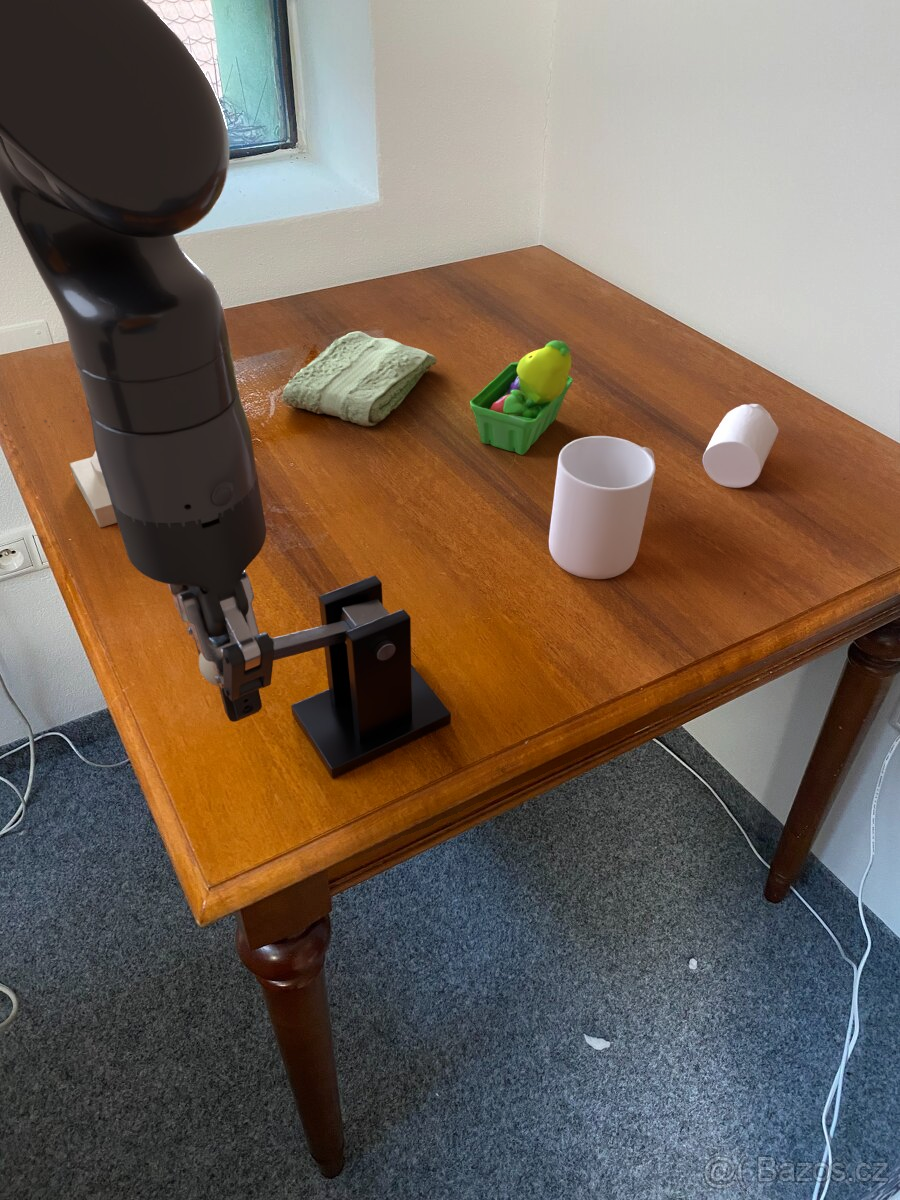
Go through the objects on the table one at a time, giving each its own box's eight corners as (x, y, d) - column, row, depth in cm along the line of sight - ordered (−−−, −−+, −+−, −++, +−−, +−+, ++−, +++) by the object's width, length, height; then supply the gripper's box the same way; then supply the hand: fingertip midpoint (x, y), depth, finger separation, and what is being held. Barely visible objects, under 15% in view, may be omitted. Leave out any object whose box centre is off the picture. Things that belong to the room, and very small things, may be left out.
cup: (529, 551, 82) (538, 460, 75) (607, 499, 88) (622, 410, 81) (599, 594, 78) (616, 501, 71) (676, 536, 84) (698, 446, 77)
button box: (100, 528, 83) (89, 493, 81) (75, 481, 89) (64, 447, 86) (201, 496, 87) (194, 463, 85) (171, 453, 93) (163, 420, 90)
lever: (209, 703, 54) (209, 665, 52) (191, 670, 56) (190, 632, 54) (391, 652, 61) (397, 616, 59) (369, 624, 63) (374, 589, 61)
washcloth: (441, 366, 108) (441, 342, 106) (375, 435, 96) (374, 410, 94) (348, 345, 112) (346, 321, 110) (273, 409, 100) (270, 384, 98)
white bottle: (778, 439, 97) (792, 394, 94) (753, 495, 89) (768, 448, 86) (724, 425, 99) (736, 380, 95) (696, 478, 91) (708, 432, 88)
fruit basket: (510, 399, 103) (517, 306, 95) (580, 419, 100) (593, 325, 92) (465, 445, 95) (468, 349, 88) (539, 468, 92) (550, 370, 85)
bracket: (332, 779, 63) (319, 667, 55) (291, 715, 67) (273, 601, 59) (451, 723, 67) (454, 611, 59) (405, 665, 71) (402, 553, 63)
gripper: (72, 430, 48) (142, 648, 60) (155, 575, 39) (218, 797, 51) (203, 395, 51) (245, 609, 63) (307, 523, 42) (333, 744, 54)
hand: (233, 693), depth 57 cm, fingers closed on lever, 3 cm apart
